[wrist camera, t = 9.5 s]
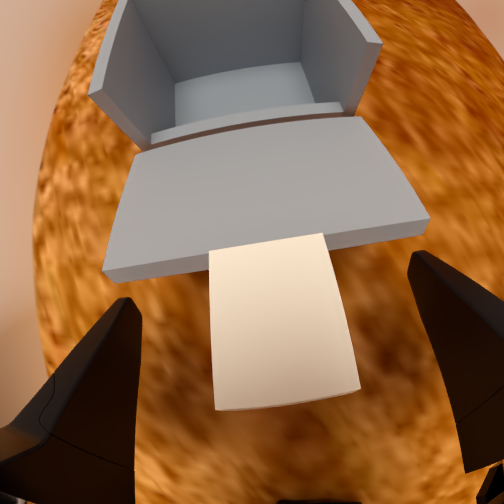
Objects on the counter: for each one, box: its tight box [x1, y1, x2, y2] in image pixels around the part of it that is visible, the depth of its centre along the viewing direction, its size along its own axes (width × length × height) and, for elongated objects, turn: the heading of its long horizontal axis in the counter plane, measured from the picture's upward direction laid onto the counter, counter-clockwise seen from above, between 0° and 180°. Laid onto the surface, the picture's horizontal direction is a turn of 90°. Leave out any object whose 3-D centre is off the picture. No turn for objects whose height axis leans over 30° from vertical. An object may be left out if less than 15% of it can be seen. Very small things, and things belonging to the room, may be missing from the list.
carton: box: [88, 0, 383, 152], centre depth 12 cm, size 8×10×9 cm
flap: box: [102, 116, 430, 411], centre depth 8 cm, size 1×10×10 cm
